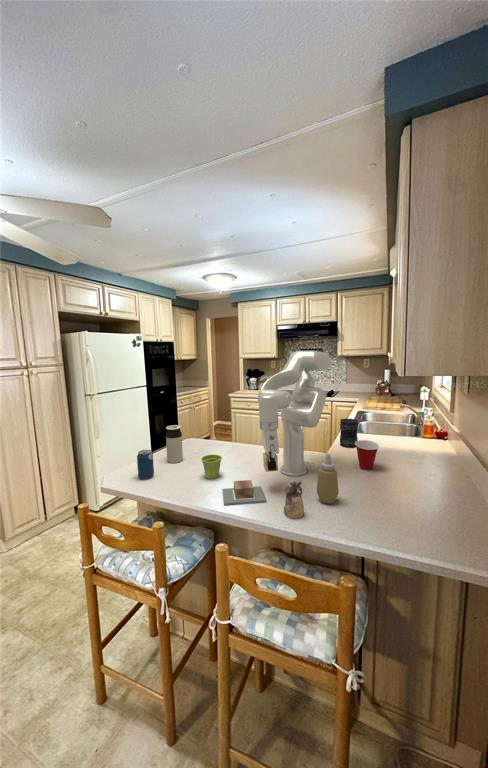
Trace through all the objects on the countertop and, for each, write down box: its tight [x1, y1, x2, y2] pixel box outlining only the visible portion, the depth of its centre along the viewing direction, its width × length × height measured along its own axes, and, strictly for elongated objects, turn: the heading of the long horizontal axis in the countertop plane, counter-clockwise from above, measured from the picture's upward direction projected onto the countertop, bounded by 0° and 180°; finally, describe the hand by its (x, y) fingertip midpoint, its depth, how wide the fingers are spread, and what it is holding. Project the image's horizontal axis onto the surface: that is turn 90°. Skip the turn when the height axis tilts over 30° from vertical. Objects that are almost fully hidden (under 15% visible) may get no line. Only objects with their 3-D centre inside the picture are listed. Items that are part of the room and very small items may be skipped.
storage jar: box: [339, 418, 359, 449], centre depth 179 cm, size 10×10×15 cm
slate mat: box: [222, 485, 267, 506], centre depth 121 cm, size 16×12×1 cm
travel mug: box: [165, 424, 184, 464], centre depth 160 cm, size 8×8×18 cm
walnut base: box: [233, 479, 254, 499], centre depth 121 cm, size 7×7×4 cm
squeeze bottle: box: [316, 453, 340, 505], centre depth 116 cm, size 8×8×18 cm
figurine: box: [283, 480, 305, 520], centre depth 108 cm, size 7×7×12 cm
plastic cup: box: [355, 439, 380, 471], centre depth 146 cm, size 11×11×12 cm
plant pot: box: [200, 454, 223, 480], centre depth 140 cm, size 9×9×9 cm
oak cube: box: [262, 452, 279, 473], centre depth 126 cm, size 5×5×6 cm
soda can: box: [136, 449, 155, 480], centre depth 141 cm, size 7×7×12 cm
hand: (270, 466), depth 126 cm, fingers closed on oak cube, 5 cm apart
